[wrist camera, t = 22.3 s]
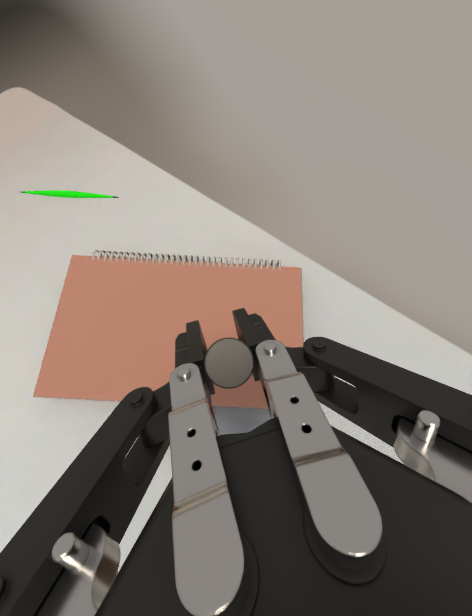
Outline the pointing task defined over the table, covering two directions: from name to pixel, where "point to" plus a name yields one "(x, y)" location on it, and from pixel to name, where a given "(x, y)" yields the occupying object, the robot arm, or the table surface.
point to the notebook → (158, 321)
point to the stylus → (229, 363)
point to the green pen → (69, 194)
